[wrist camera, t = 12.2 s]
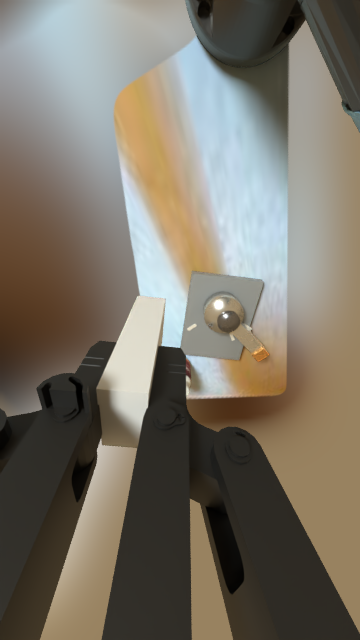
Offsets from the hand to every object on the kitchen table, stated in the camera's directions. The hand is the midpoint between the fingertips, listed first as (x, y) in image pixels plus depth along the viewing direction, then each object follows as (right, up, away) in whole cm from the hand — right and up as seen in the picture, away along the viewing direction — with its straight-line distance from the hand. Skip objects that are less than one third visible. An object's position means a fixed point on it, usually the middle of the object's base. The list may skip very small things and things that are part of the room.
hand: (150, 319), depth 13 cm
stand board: (+9, 0, +33) cm, 34 cm away
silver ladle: (+13, -1, +32) cm, 34 cm away
